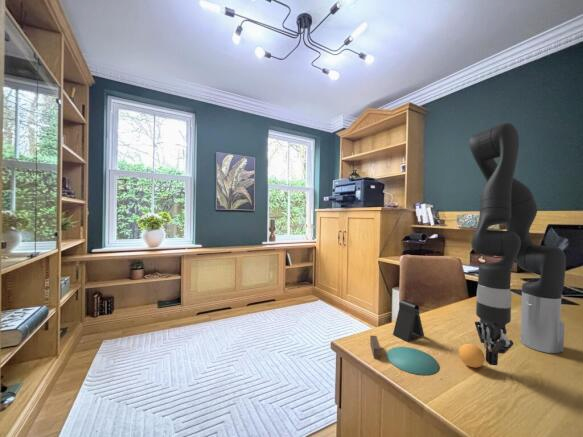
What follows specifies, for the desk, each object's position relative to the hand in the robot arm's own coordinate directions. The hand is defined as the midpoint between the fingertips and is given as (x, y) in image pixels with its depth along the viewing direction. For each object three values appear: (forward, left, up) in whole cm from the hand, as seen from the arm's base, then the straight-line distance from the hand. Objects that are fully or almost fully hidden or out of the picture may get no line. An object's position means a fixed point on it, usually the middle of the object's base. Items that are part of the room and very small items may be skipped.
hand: (491, 363), depth 70 cm
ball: (+5, -1, +1) cm, 5 cm away
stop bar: (+31, -4, -2) cm, 31 cm away
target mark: (+21, -1, -2) cm, 21 cm away
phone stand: (+17, -17, -2) cm, 24 cm away
